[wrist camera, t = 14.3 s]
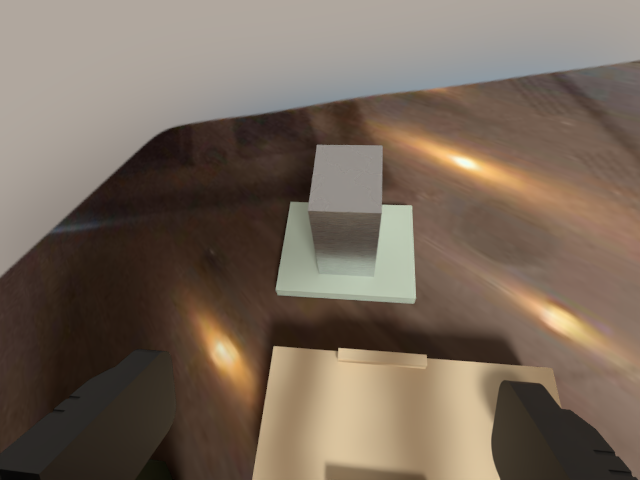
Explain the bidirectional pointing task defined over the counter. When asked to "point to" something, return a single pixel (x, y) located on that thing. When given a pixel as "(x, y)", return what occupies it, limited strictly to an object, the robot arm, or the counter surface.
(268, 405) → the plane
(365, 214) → the grey upright block
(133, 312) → the counter surface
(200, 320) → the counter surface
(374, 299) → the pad
